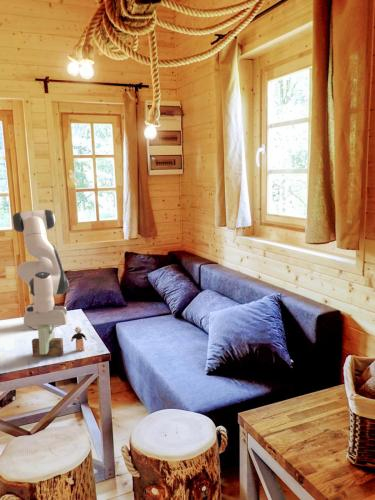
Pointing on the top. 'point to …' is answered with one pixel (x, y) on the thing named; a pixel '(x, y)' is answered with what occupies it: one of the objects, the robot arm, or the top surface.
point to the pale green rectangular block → (45, 338)
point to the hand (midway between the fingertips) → (46, 333)
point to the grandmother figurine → (79, 339)
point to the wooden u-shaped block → (54, 349)
